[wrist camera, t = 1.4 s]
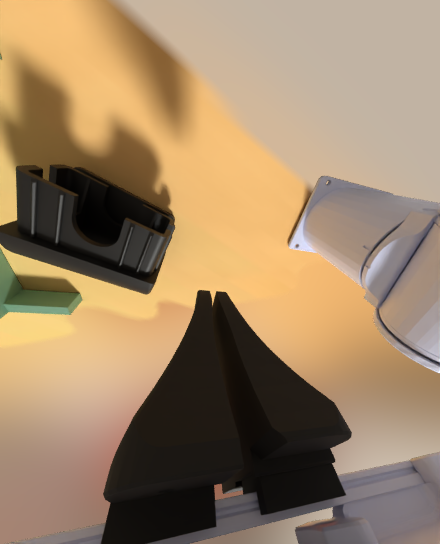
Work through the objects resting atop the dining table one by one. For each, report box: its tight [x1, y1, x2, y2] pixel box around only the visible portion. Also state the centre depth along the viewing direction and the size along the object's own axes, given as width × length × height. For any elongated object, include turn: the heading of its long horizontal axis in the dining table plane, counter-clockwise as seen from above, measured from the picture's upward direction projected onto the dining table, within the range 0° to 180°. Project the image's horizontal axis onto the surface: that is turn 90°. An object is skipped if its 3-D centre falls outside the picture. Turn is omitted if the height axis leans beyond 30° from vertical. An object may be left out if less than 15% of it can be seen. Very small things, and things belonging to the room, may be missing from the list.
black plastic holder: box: [0, 165, 175, 294], centre depth 14 cm, size 10×7×7 cm
